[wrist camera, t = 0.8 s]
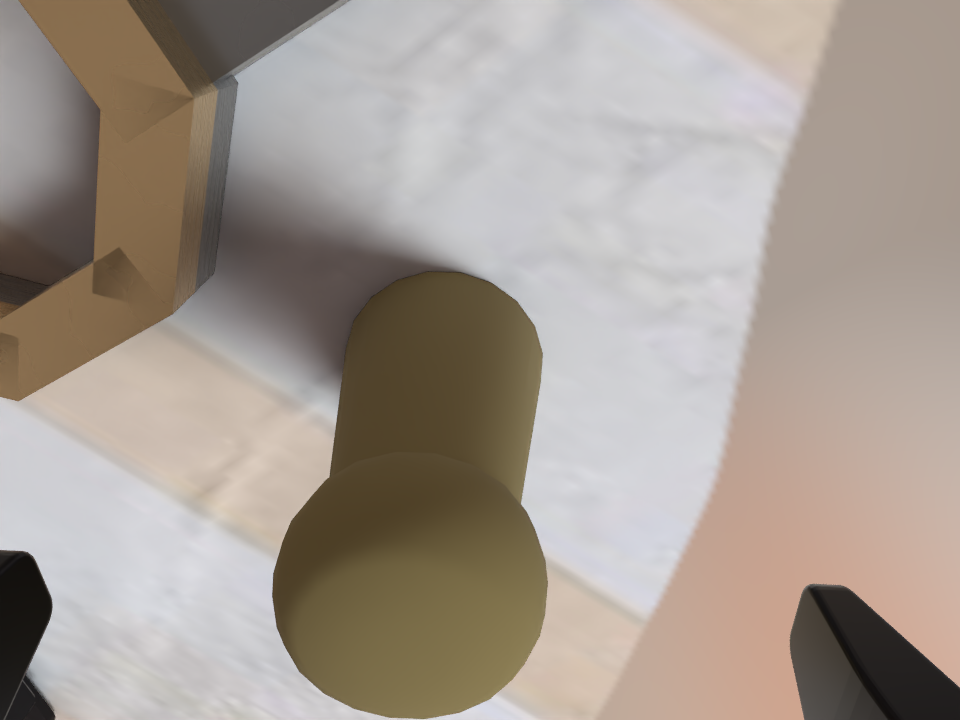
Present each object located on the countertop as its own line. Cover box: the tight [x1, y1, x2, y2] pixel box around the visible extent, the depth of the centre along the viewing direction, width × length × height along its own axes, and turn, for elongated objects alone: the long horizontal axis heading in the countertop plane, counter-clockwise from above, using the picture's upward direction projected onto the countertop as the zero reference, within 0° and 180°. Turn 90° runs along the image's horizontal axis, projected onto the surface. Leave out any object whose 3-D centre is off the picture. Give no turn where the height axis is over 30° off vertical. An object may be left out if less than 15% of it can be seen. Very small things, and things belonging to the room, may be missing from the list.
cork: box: [272, 272, 548, 719], centre depth 17 cm, size 6×6×11 cm
